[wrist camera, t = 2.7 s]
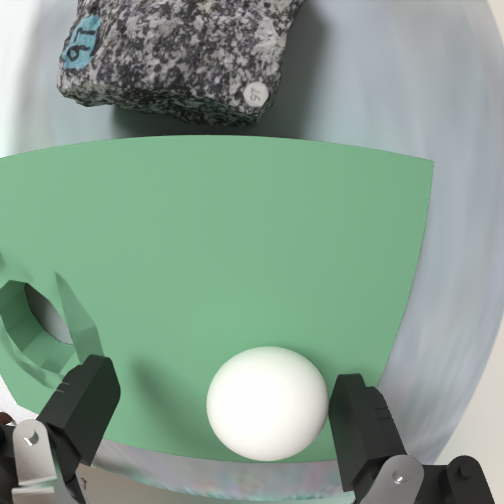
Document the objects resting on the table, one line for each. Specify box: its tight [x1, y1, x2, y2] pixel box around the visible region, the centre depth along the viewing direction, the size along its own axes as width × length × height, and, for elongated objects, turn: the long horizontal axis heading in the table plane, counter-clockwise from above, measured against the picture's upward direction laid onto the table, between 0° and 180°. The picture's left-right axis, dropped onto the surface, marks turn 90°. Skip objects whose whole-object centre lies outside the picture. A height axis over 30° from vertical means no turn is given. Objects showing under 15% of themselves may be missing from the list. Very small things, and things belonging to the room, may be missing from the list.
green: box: [0, 135, 434, 463], centre depth 12 cm, size 16×22×2 cm
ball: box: [206, 346, 329, 461], centre depth 9 cm, size 4×4×4 cm
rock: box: [57, 0, 305, 127], centre depth 7 cm, size 8×10×4 cm
